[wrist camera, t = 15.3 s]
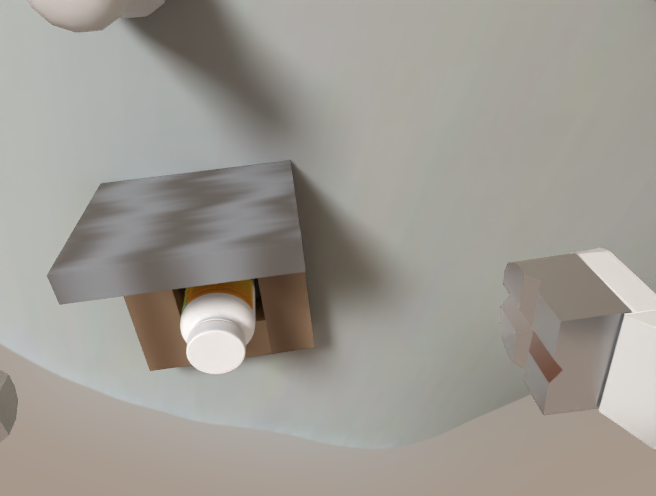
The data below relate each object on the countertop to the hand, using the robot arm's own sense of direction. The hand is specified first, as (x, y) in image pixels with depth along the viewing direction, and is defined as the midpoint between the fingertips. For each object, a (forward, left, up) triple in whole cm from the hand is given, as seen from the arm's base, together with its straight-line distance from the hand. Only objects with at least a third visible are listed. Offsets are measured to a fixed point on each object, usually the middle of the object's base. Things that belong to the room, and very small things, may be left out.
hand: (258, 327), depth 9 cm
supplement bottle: (+6, +19, -31) cm, 37 cm away
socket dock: (+6, +19, -31) cm, 37 cm away
